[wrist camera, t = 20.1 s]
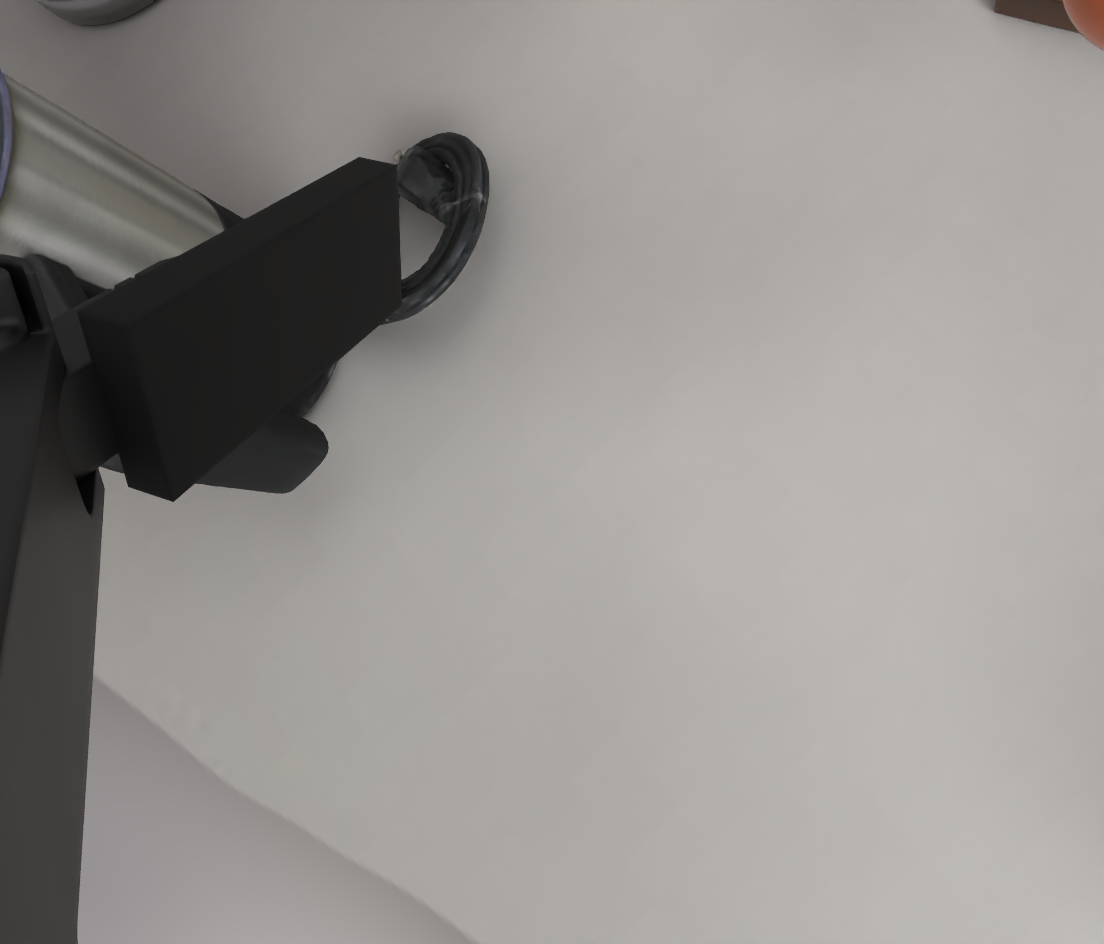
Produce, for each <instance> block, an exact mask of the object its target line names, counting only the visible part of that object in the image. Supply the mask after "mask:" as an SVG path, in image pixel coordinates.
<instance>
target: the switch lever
mask: <svg viewBox="0 0 1104 944" xmlns="http://www.w3.org/2000/svg"><path fill="white" fill-rule="evenodd" d="M1063 4H1064V8H1065V10H1066V12H1067V14H1068V16H1069V18H1070V20H1071V22H1072V23H1073V25H1074V26H1075V27H1076V29H1077V30H1078V31H1079V32H1080V33H1081V34H1082V35H1083V36H1084V37H1085V38H1086V39H1087V40H1088V41H1090V42H1091V43H1092V44H1094V45H1095V46H1097V47H1099V48H1101V49H1103V50H1104V0H1063Z"/></svg>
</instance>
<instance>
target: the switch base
mask: <svg viewBox="0 0 1104 944" xmlns="http://www.w3.org/2000/svg"><path fill="white" fill-rule="evenodd" d="M994 11H995V12H996V13H1001V14H1005V15H1009V16H1013V17H1017V18H1021V19H1025V20H1029V21H1033V22H1037V23H1041V24H1045V25H1050V26H1054V27H1058V28H1062V29H1066V30H1070V31H1074V32H1078V33H1080V32H1079V31H1078V30H1077V29H1076V27H1075V26H1074V25H1073V23H1072V22H1071V20H1070V18H1069V16H1068V14H1067V12H1066V10H1065V8H1064V4H1063V0H996V2H995V10H994Z"/></svg>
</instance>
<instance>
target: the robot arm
mask: <svg viewBox="0 0 1104 944" xmlns="http://www.w3.org/2000/svg"><path fill="white" fill-rule="evenodd" d="M36 1H37V2H39V3H40V4H41V5H43V6H44V7H46V8H47V9H48V10H50V11H51V12H53V13H54V14H55V15H57V16H59V17H60V18H62V19H64V20H66V21H68V22H71V23H75V24H80V25H100V24H106V23H111V22H114V21H117V20H120V19H123V18H125V17H128V16H130V15H132V14H134V13H136V12H138V11H140V10H142V9H143V8H145V7H146V6H148V5H150V4H151V3H153V2H154V1H155V0H36ZM401 306H402V287H401V259H400V231H399V203H398V176H397V165H394V164H389V163H385V162H380V161H375V160H371V159H366V158H361V157H358V158H356V159H355V160H353V161H351V162H349V163H347V164H346V165H344V166H342V167H340V168H338V169H336V170H335V171H333V172H331V173H329V174H327V175H325V176H324V177H322V178H320V179H318V180H316V181H314V182H313V183H311V184H309V185H307V186H305V187H303V188H302V189H300V190H298V191H296V192H294V193H292V194H291V195H289V196H287V197H285V198H283V199H281V200H280V201H278V202H276V203H274V204H272V205H270V206H269V207H267V208H265V209H263V210H261V211H259V212H258V213H256V214H254V215H252V216H250V217H249V218H247V219H245V220H243V221H241V222H239V223H238V224H236V225H234V226H232V227H230V228H228V229H227V230H225V231H223V232H221V233H219V234H217V235H216V236H214V237H212V238H210V239H208V240H206V241H205V242H203V243H201V244H199V245H197V246H195V247H194V248H192V249H190V250H188V251H186V252H184V253H183V254H181V255H179V256H176V257H172V258H168V259H165V260H161V261H159V262H157V263H155V264H153V265H152V266H150V267H148V268H146V269H144V270H142V271H140V272H139V273H137V274H135V277H134V278H131V277H129V278H127V279H126V280H124V281H122V282H120V283H118V284H116V285H115V286H114V289H110V288H109V289H107V290H105V291H103V292H102V293H100V294H98V295H96V296H94V297H92V298H90V299H89V300H87V301H85V302H83V303H81V304H79V305H77V306H76V307H74V308H72V309H70V310H68V311H66V312H65V313H63V314H61V315H59V316H57V317H55V318H53V319H52V320H51V317H50V314H49V311H48V308H47V305H46V302H45V298H44V295H43V292H42V289H41V286H40V283H39V280H38V276H37V273H36V270H35V267H34V264H32V263H31V262H29V261H27V260H25V259H24V258H21V257H16V256H10V255H5V254H0V944H78V940H77V918H78V903H79V887H80V871H81V855H82V840H83V824H84V807H85V792H86V791H85V790H86V776H87V774H86V773H87V760H88V744H89V728H90V713H91V696H92V681H93V665H94V649H95V633H96V617H97V601H98V585H99V570H100V554H101V538H102V522H103V506H104V490H105V488H104V485H103V482H102V478H101V475H100V472H99V469H98V467H100V466H101V465H102V464H104V463H105V462H106V461H108V460H109V459H110V458H112V457H113V456H114V455H116V454H117V453H118V454H119V457H120V460H121V464H122V467H123V470H124V474H125V477H126V481H127V484H128V487H131V488H133V489H136V490H139V491H142V492H145V493H148V494H151V495H154V496H157V497H160V498H163V499H166V500H169V501H172V502H174V501H175V500H176V499H177V498H178V497H180V496H181V495H182V494H183V493H184V492H185V491H187V490H188V489H189V488H190V487H191V486H192V485H194V484H195V483H196V482H197V481H198V480H199V479H201V478H202V477H203V476H204V475H205V474H206V473H208V472H209V471H210V470H211V469H212V468H213V467H215V466H216V465H217V464H218V463H219V462H220V461H222V460H223V459H224V458H225V457H226V456H227V455H229V454H230V453H231V452H232V451H233V450H234V449H236V448H237V447H238V446H239V445H240V444H241V443H243V442H244V441H245V440H246V439H247V438H248V437H250V436H251V435H252V434H253V433H254V432H255V431H256V430H258V429H259V428H260V427H261V426H262V425H263V424H265V423H266V422H267V421H268V420H269V419H270V418H272V417H273V416H274V415H275V414H276V413H277V412H279V411H280V410H281V409H282V408H283V407H284V406H286V405H287V404H288V403H289V402H290V401H291V400H293V399H294V398H295V397H296V396H297V395H298V394H300V393H301V392H302V391H303V390H304V389H305V388H307V387H308V386H309V385H310V384H311V383H312V382H314V381H315V380H316V379H317V378H318V377H319V376H321V375H322V374H323V373H324V372H325V371H326V370H328V369H329V368H330V367H331V366H332V365H333V364H334V363H336V362H337V361H338V360H339V359H340V358H341V357H343V356H344V355H345V354H346V353H347V352H348V351H350V350H351V349H352V348H353V347H354V346H355V345H357V344H358V343H359V342H360V341H361V340H362V339H364V338H365V337H366V336H367V335H368V334H369V333H371V332H372V331H373V330H374V329H375V328H376V327H378V326H379V325H380V324H381V323H382V322H383V321H385V320H386V319H387V318H388V317H389V316H390V315H392V314H393V313H394V312H395V311H396V310H397V309H399V308H400V307H401Z"/></svg>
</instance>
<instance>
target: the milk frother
mask: <svg viewBox="0 0 1104 944" xmlns="http://www.w3.org/2000/svg"><path fill="white" fill-rule="evenodd" d="M394 160H395V162H396V163H397V164H396V165H397V176H398V199H399V197H400V195H401V196H403V197H404V198H406V199H407V200H408V201H410V202H411V203H413V204H415V205H416V206H417V207H418V208H419V209H421V210H423V211H425V212H428V213H429V214H431V215H432V216H434V217H436V218H437V219H438V220H439V221H441V222H443V223H444V224H445V225H446V227H445V229H444V232H443V235H442V236H441V238H440V241H439V243H438V244H437V246H436V248H435V250H434V252H433V253H432V254H431V255H430V257H429V260H428V261H427V262H426V263H425V264H424V265H423V266H422V267H421V268H420V270H418V271H416V272H415V273H413V274H412V275H410V276H409V277H407V278H405V279H403V280H401V287H402V306H401V307H400V308H399V309H397V310H396V311H395V312H394V313H393V314H392V315H390V316H389V317H388V318H387V319H386V320H385V321H383V322H382V323H381V324H380V325H383V324H387V323H391V322H396V321H399V320H403V319H406V318H409V317H411V316H413V315H415V314H417V313H419V312H420V311H422V310H423V309H424V308H426V307H427V306H429V305H430V304H431V303H433V302H434V301H435V300H436V299H437V298H438V297H439V296H440V295H442V294H443V293H444V292H445V291H446V290H447V289H448V287H449V286H450V285H451V284H452V283H453V282H454V280H455V279H456V278H457V276H458V275H459V273H460V272H461V271H462V269H463V268H464V266H465V264H466V263H467V261H468V259H469V257H470V255H471V253H472V251H473V249H474V247H475V245H476V243H477V240H478V238H479V235H480V233H481V229H482V226H483V222H484V219H485V214H486V209H487V204H488V197H489V171H488V167H487V163H486V159H485V157H484V155H483V154H482V151H481V150H480V149H479V148H478V147H477V146H476V145H474V144H473V143H472V142H471V141H470V140H469V139H468V138H467V137H465V136H462V135H459V134H456V133H451V132H447V133H441V134H437V135H435V136H432V137H430V138H427V139H424V140H422V141H420V142H419V143H417V144H416V145H414V146H413V147H412V148H410V149H408V150H407V151H406V153H405V152H403V151H400V150H399V151H397V152H396V153H395V154H394ZM445 164H447V165H449V167H450V168H451V170H452V171H451V170H450V169H449V168H448V167H446V166H445ZM243 220H245V219H243V218H241V217H240V216H238V215H236V214H235V213H233V212H231V211H230V210H228V209H226V208H224V207H222V206H220V205H219V204H217V203H216V202H214V201H212V200H211V199H209V198H207V197H206V196H204V195H203V194H201V193H199V192H198V191H196V190H194V189H192V188H190V187H189V186H187V185H186V184H184V183H182V182H181V181H179V180H178V179H176V178H175V177H173V176H171V175H170V174H168V173H166V172H165V171H163V170H162V169H160V168H158V167H157V166H155V165H153V164H152V163H150V162H148V161H147V160H145V159H143V158H142V157H140V156H139V155H137V154H135V153H134V152H132V151H130V150H129V149H127V148H126V147H124V146H122V145H121V144H119V143H118V142H116V141H114V140H113V139H111V138H109V137H108V136H106V135H105V134H103V133H101V132H100V131H98V130H96V129H95V128H93V127H91V126H90V125H88V124H87V123H85V122H83V121H82V120H80V119H78V118H77V117H75V116H73V115H72V114H70V113H68V112H67V111H65V110H63V109H62V108H60V107H58V106H57V105H55V104H53V103H52V102H50V101H49V100H47V99H45V98H44V97H42V96H40V95H39V94H37V93H35V92H34V91H32V90H30V89H29V88H27V87H25V86H24V85H22V84H21V83H19V82H17V81H16V80H14V79H13V78H11V77H9V76H8V75H6V74H4V73H3V72H2V71H1V69H0V254H5V255H10V256H16V257H21V258H24V259H25V260H27V261H29V262H31V263H32V264H34V267H35V270H36V273H37V276H38V280H39V283H40V286H41V289H42V292H43V295H44V298H45V302H46V305H47V308H48V311H49V314H50V317H51V320H52V319H53V318H55V317H57V316H59V315H61V314H63V313H65V312H66V311H68V310H70V309H72V308H74V307H76V306H77V305H79V304H81V303H83V302H85V301H87V300H89V299H90V298H92V297H94V296H96V295H98V294H100V293H102V292H103V291H105V290H107V289H109V288H110V289H114V286H115V285H116V284H118V283H120V282H122V281H124V280H126V279H127V278H129V277H131V278H134V277H135V274H137V273H139V272H140V271H142V270H144V269H146V268H148V267H150V266H152V265H153V264H155V263H157V262H159V261H161V260H165V259H168V258H172V257H176V256H179V255H181V254H183V253H184V252H186V251H188V250H190V249H192V248H194V247H195V246H197V245H199V244H201V243H203V242H205V241H206V240H208V239H210V238H212V237H214V236H216V235H217V234H219V233H221V232H223V231H225V230H227V229H228V228H230V227H232V226H234V225H236V224H238V223H239V222H241V221H243ZM335 365H336V363H334V364H333V365H332V366H331V367H330V368H329V369H328V370H326V371H325V372H324V373H323V374H322V375H321V376H319V377H318V378H317V379H316V380H315V381H314V382H312V383H311V384H310V385H309V386H308V387H307V388H305V389H304V390H303V391H302V392H301V393H300V394H298V395H297V396H296V397H295V398H294V399H293V400H291V401H290V402H289V403H288V404H287V405H286V406H284V407H283V408H282V409H281V410H280V411H279V412H277V413H276V414H275V415H274V416H273V417H272V418H270V419H269V420H268V421H267V422H266V423H265V424H263V425H262V426H261V427H260V428H259V429H258V430H256V431H255V432H254V433H253V434H252V435H251V436H250V437H248V438H247V439H246V440H245V441H244V442H243V443H241V444H240V445H239V446H238V447H237V448H236V449H234V450H233V451H232V452H231V453H230V454H229V455H227V456H226V457H225V458H224V459H223V460H222V461H220V462H219V463H218V464H217V465H216V466H215V467H213V468H212V469H211V470H210V471H209V472H208V473H206V474H205V475H204V476H203V477H202V478H201V479H199V480H198V481H197V482H196V484H205V485H211V486H222V487H228V488H237V489H244V490H254V491H261V492H268V493H282V494H283V493H287V492H291V491H292V490H294V489H295V488H296V487H297V486H298V485H299V484H301V483H302V482H303V481H304V480H305V479H306V478H307V477H308V476H309V475H310V474H311V473H312V472H313V471H314V470H315V469H316V468H317V467H318V466H319V465H320V464H321V462H322V461H323V460H324V458H325V457H326V455H327V453H328V448H329V447H328V441H327V439H326V437H325V435H324V433H323V432H322V431H321V430H320V428H319V427H318V426H317V425H315V424H313V423H311V422H309V421H308V420H306V419H304V418H301V417H302V416H303V415H305V414H306V413H307V412H308V410H309V409H310V408H311V407H312V406H313V404H314V403H315V402H316V401H317V399H318V398H319V396H320V395H321V393H322V392H323V390H324V388H325V386H326V385H327V383H328V381H329V379H330V377H331V374H332V372H333V369H334V367H335ZM101 467H103V468H107V469H110V470H113V471H117V472H121V473H124V470H123V467H122V464H121V460H120V457H119V454H118V453H117V454H116V455H114V456H113V457H112V458H110V459H109V460H108V461H106V462H105V463H104V464H102V465H101Z"/></svg>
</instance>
